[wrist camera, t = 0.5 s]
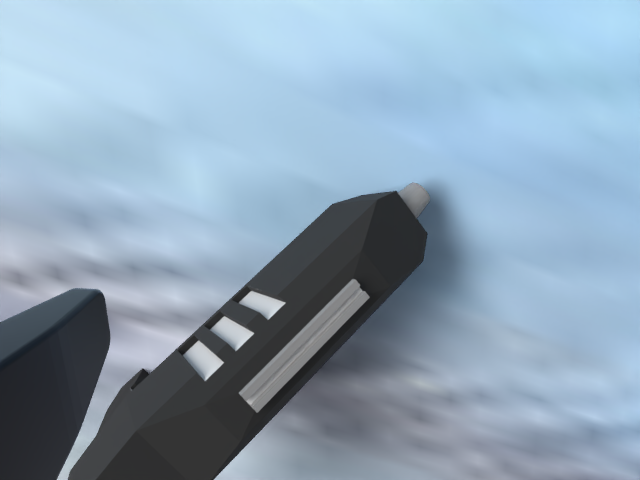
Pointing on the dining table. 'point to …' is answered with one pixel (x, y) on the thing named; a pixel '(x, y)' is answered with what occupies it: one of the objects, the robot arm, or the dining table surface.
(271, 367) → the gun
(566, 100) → the dining table surface
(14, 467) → the robot arm
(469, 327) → the dining table surface
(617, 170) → the dining table surface
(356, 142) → the dining table surface
